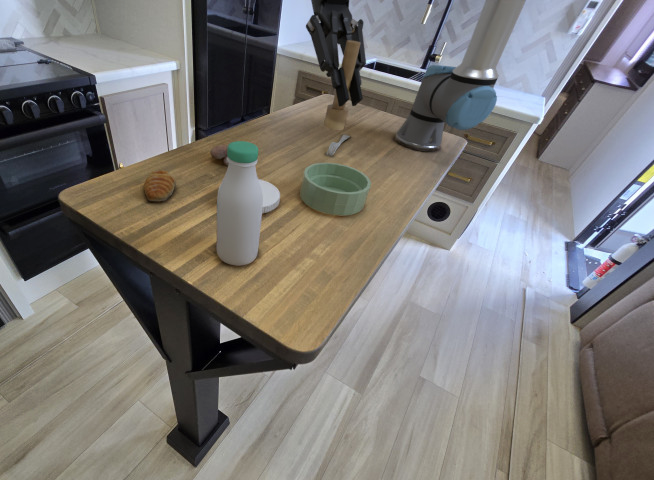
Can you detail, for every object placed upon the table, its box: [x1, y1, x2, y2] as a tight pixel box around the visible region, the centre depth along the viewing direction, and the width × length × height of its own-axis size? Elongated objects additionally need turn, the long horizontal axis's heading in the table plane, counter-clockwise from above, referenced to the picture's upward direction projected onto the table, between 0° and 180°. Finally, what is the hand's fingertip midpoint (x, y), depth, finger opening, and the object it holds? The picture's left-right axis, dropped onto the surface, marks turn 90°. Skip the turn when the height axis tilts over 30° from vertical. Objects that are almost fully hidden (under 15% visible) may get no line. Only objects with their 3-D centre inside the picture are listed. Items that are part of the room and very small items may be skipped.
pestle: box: [323, 40, 361, 131], centre depth 72 cm, size 5×5×16 cm
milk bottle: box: [216, 140, 263, 266], centre depth 55 cm, size 8×8×20 cm
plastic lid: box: [217, 178, 281, 215], centre depth 76 cm, size 14×14×2 cm
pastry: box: [143, 169, 177, 202], centre depth 74 cm, size 9×7×4 cm
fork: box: [325, 134, 351, 156], centre depth 108 cm, size 3×21×3 cm, turn 154°
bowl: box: [299, 162, 372, 217], centre depth 79 cm, size 16×16×6 cm
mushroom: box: [210, 144, 229, 166], centre depth 89 cm, size 8×6×8 cm
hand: (350, 102), depth 70 cm, fingers closed on pestle, 3 cm apart
